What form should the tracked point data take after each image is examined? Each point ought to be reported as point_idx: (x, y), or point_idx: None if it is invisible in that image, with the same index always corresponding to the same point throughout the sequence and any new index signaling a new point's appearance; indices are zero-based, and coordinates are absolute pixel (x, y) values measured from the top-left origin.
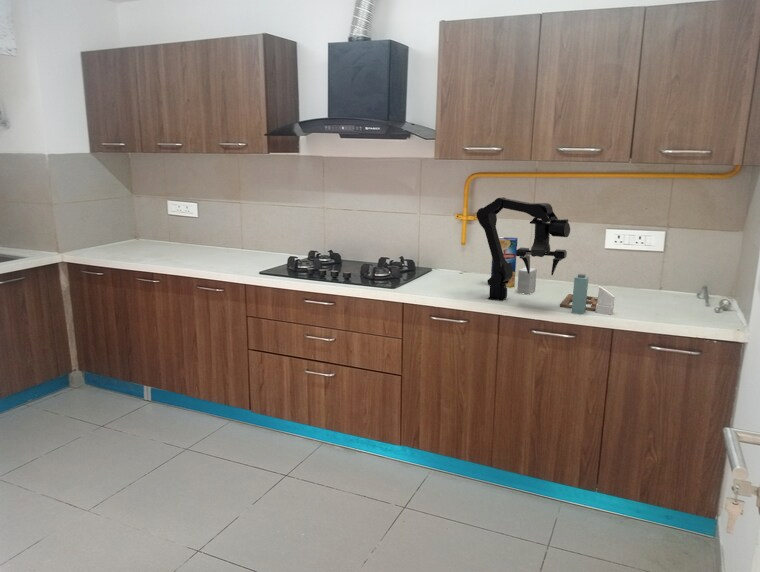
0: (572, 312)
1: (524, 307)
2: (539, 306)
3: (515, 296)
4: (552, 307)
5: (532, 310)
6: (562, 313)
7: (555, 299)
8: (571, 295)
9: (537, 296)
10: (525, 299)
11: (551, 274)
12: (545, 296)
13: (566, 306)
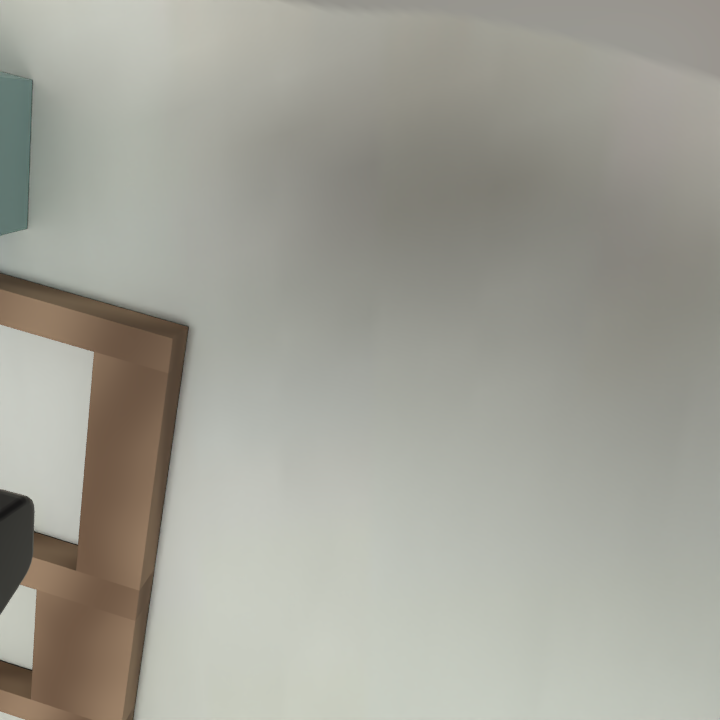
0: (16, 77)
1: (652, 200)
2: (431, 303)
3: (694, 694)
4: (269, 291)
5: (547, 52)
6: (133, 6)
7: (246, 624)
8: (87, 702)
9: (432, 711)
10: (584, 588)
11: (13, 509)
12: (347, 716)
13: (102, 309)
